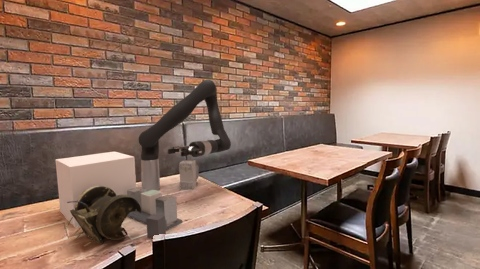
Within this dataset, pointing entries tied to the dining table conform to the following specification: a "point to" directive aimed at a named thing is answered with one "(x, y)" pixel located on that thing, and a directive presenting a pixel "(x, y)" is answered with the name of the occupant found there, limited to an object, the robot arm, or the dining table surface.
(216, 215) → the dining table surface
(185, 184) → the circuit breaker
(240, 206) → the dining table surface
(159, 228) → the relay
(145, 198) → the block
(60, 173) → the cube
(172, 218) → the rail
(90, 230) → the bench grinder
